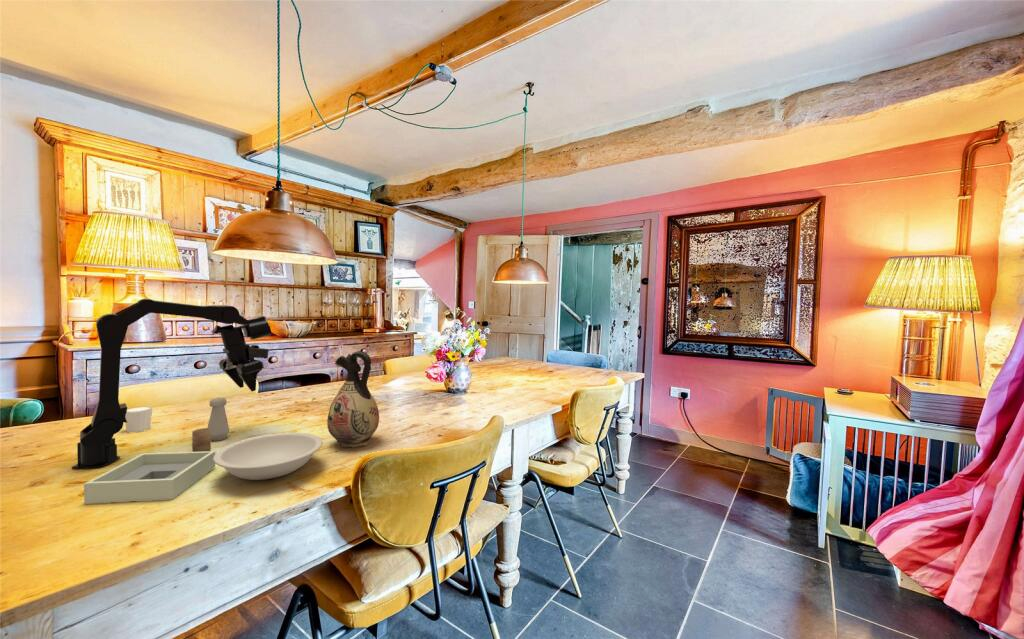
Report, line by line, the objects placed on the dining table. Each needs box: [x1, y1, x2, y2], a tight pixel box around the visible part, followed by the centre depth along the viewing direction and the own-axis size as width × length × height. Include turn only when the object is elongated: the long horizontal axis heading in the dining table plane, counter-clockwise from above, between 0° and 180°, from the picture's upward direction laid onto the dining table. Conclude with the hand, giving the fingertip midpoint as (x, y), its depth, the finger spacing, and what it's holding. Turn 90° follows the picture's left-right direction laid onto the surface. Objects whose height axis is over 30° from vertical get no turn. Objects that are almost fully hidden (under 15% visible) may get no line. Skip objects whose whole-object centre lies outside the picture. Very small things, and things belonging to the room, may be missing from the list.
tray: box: [83, 450, 216, 505], centre depth 92 cm, size 17×17×4 cm
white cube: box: [124, 406, 153, 433], centre depth 128 cm, size 7×7×7 cm
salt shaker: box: [206, 397, 230, 442], centre depth 122 cm, size 6×6×13 cm
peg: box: [191, 427, 212, 452], centre depth 107 cm, size 4×4×8 cm
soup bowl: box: [213, 432, 323, 481], centre depth 101 cm, size 24×24×7 cm
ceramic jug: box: [326, 350, 380, 448], centre depth 122 cm, size 17×15×30 cm
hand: (247, 389), depth 127 cm, fingers open, 9 cm apart
